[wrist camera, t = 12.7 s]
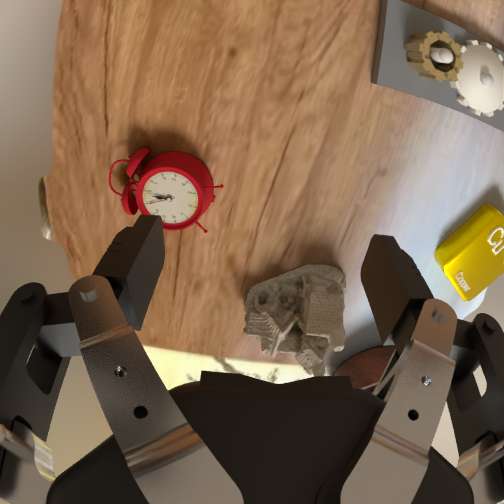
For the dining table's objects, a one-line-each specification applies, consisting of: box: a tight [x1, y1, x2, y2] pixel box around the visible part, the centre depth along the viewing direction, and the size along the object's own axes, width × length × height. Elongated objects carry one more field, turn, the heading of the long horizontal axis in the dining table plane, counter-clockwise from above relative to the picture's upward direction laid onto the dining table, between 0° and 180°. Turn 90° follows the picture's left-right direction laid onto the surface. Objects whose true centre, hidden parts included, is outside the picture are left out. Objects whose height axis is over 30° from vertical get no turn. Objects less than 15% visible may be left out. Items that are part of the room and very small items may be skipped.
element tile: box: [434, 203, 504, 301], centre depth 44 cm, size 15×15×5 cm
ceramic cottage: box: [243, 264, 346, 377], centre depth 46 cm, size 16×16×15 cm
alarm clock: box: [109, 148, 223, 233], centre depth 38 cm, size 10×6×15 cm
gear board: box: [371, 0, 504, 132], centre depth 25 cm, size 12×24×7 cm, turn 85°
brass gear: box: [404, 31, 464, 82], centre depth 25 cm, size 6×6×4 cm
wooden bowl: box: [334, 346, 396, 393], centre depth 62 cm, size 25×25×10 cm
